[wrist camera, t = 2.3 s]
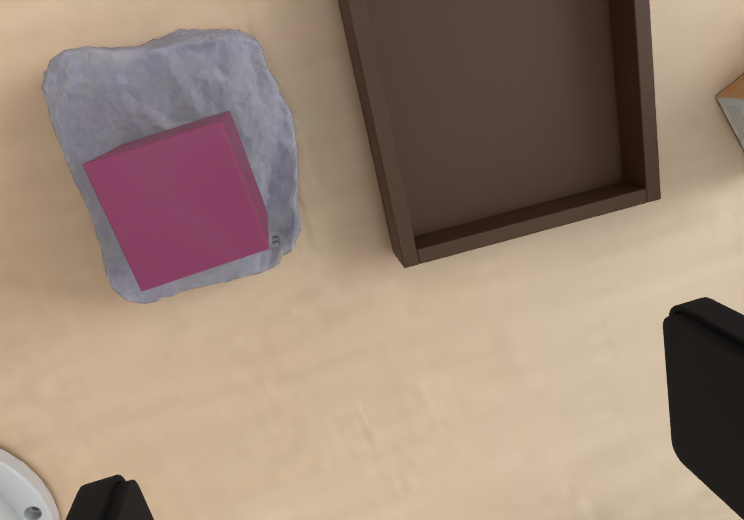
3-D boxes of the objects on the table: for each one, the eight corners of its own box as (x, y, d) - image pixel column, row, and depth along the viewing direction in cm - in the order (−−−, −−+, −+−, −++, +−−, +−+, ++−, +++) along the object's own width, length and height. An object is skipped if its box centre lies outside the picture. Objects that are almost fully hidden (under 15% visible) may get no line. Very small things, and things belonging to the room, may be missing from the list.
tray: (393, 252, 33) (404, 268, 30) (319, -84, 27) (325, -100, 25) (630, 189, 34) (661, 199, 31) (605, -144, 29) (640, -166, 26)
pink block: (165, 248, 27) (141, 292, 21) (119, 145, 25) (81, 164, 20) (268, 214, 27) (269, 249, 22) (229, 110, 25) (221, 119, 20)
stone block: (251, 16, 30) (35, 57, 27) (272, 7, 25) (17, 54, 22) (305, 239, 34) (124, 295, 31) (331, 263, 30) (123, 330, 27)
